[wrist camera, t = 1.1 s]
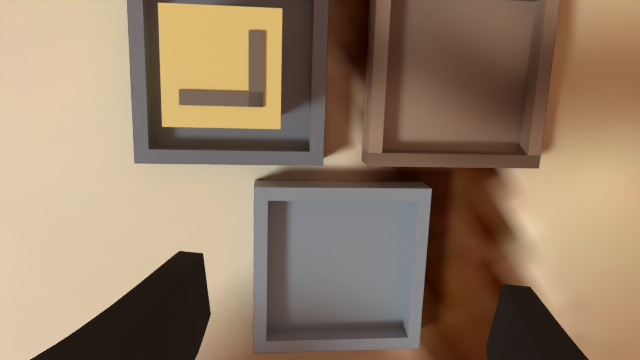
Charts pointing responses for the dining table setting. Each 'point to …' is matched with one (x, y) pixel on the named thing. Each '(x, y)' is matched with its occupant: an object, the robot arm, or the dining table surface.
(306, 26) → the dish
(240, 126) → the letter cube
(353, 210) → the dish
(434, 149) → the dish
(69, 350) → the robot arm
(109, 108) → the dining table surface
